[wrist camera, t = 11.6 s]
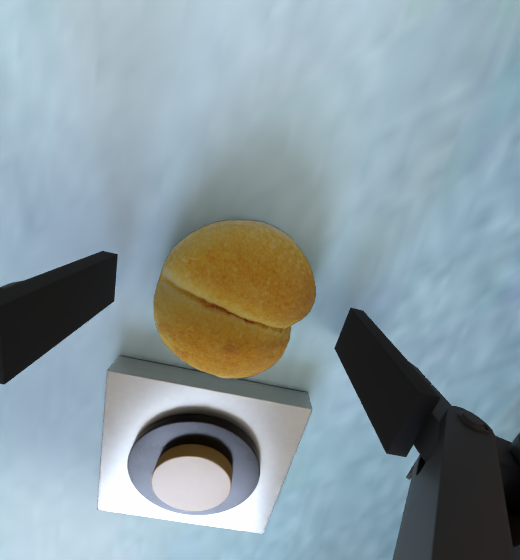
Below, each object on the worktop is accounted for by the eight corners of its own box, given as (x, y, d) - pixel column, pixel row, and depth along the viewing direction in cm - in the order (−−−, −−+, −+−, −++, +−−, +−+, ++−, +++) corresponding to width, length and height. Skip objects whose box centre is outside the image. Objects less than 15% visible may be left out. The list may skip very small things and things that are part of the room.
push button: (107, 488, 21) (85, 532, 18) (119, 355, 17) (92, 386, 14) (263, 512, 22) (263, 557, 19) (308, 392, 18) (317, 428, 15)
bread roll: (333, 256, 15) (359, 278, 11) (260, 371, 18) (261, 420, 14) (202, 185, 14) (181, 182, 10) (143, 320, 16) (109, 359, 12)
